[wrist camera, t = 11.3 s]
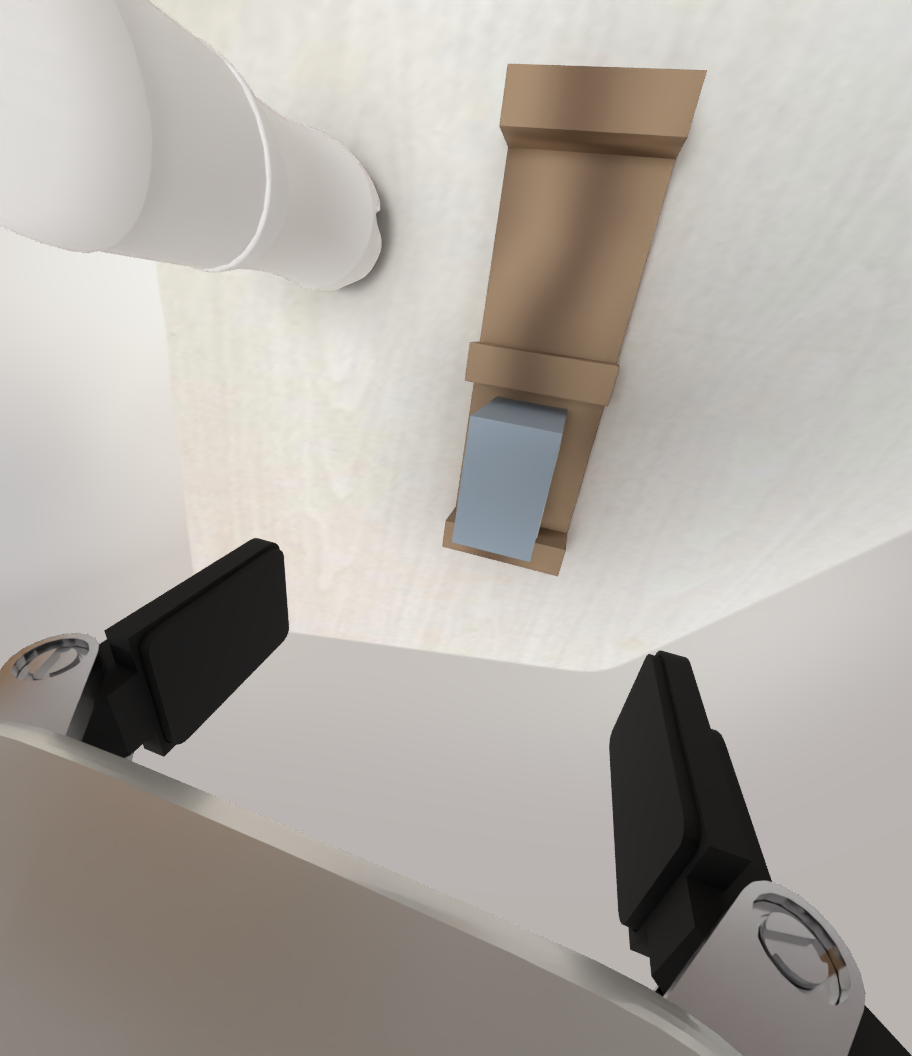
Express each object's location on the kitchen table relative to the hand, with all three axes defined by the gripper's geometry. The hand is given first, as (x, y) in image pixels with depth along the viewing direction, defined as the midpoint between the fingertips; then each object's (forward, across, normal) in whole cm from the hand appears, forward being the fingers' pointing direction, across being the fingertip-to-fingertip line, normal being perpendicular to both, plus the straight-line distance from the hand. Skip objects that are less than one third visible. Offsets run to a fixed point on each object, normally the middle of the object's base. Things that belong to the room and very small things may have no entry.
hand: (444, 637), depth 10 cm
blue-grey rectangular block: (+19, +1, +1) cm, 19 cm away
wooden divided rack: (+20, 0, -5) cm, 21 cm away
